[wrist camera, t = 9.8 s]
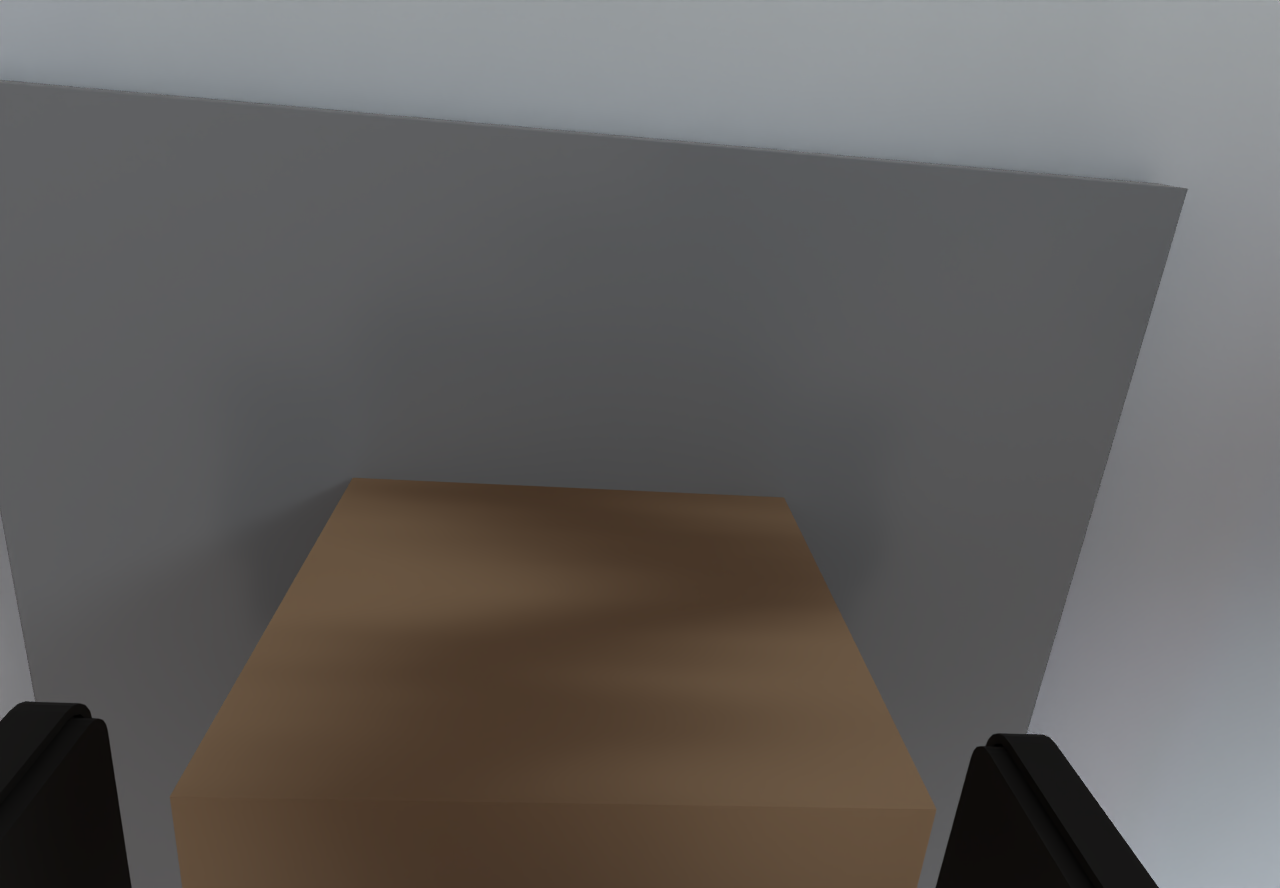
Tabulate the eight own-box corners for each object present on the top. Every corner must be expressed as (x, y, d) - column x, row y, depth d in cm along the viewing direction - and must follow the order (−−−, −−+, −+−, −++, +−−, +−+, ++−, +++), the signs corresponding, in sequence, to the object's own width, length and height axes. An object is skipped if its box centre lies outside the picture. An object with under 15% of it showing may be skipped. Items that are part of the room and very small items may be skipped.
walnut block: (783, 496, 12) (936, 809, 7) (735, 825, 14) (824, 1255, 9) (353, 477, 11) (169, 797, 6) (366, 819, 13) (235, 1271, 8)
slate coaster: (1157, 183, 11) (1187, 188, 11) (928, 989, 16) (941, 1021, 16) (-44, 75, 10) (-81, 75, 10) (111, 983, 15) (94, 1017, 15)
